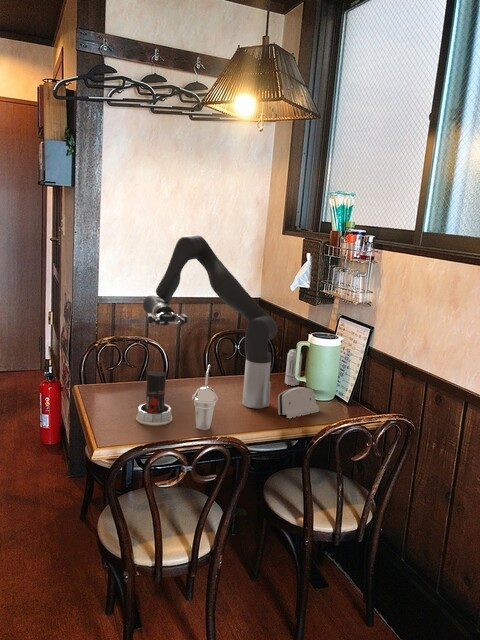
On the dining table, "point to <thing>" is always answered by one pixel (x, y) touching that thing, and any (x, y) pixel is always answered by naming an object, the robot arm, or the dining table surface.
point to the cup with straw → (204, 404)
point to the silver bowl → (154, 416)
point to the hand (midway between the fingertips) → (170, 322)
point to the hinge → (297, 402)
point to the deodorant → (155, 392)
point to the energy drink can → (292, 368)
